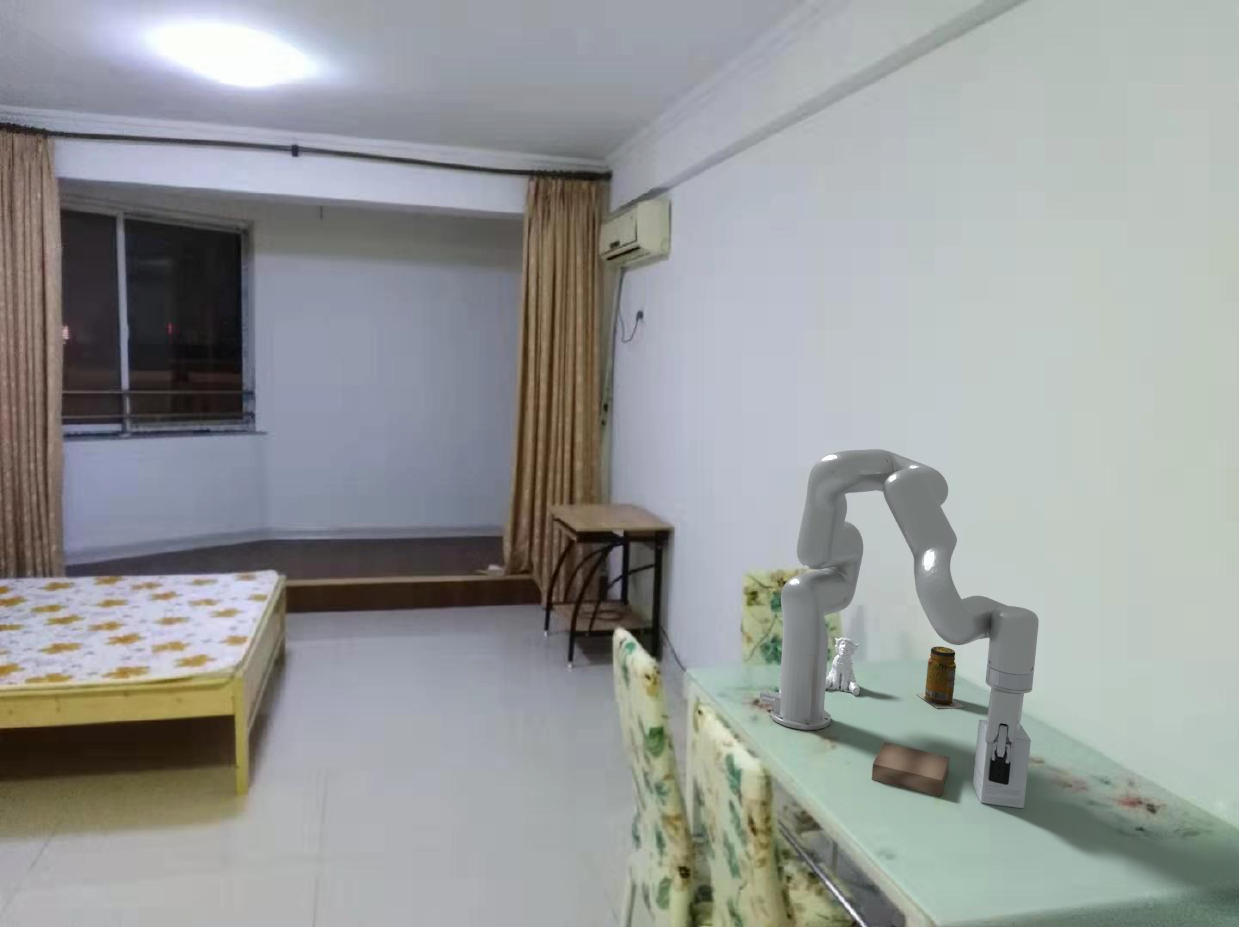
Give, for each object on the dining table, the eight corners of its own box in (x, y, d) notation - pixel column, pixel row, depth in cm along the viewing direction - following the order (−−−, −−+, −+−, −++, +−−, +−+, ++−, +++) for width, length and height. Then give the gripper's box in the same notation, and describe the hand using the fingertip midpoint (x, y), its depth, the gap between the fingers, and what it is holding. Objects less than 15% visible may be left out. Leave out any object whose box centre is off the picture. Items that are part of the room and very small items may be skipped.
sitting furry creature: (817, 689, 206) (820, 639, 204) (822, 678, 214) (825, 630, 212) (858, 696, 202) (862, 646, 201) (862, 684, 210) (866, 635, 209)
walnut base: (871, 779, 161) (872, 763, 161) (882, 756, 171) (884, 741, 171) (940, 796, 156) (941, 780, 156) (948, 771, 166) (949, 756, 165)
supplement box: (1025, 809, 152) (1032, 739, 151) (979, 803, 154) (986, 734, 152) (1014, 789, 160) (1021, 722, 158) (971, 784, 161) (978, 717, 160)
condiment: (943, 693, 207) (948, 644, 205) (965, 707, 198) (970, 656, 197) (915, 695, 205) (920, 645, 204) (936, 709, 197) (940, 657, 195)
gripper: (990, 659, 164) (981, 748, 166) (982, 688, 148) (972, 786, 150) (1034, 667, 160) (1025, 758, 162) (1031, 698, 145) (1021, 798, 147)
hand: (1000, 771), depth 156 cm, fingers closed on supplement box, 8 cm apart
